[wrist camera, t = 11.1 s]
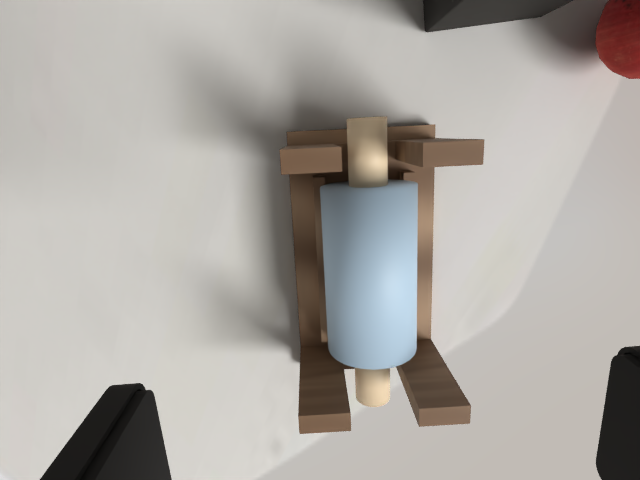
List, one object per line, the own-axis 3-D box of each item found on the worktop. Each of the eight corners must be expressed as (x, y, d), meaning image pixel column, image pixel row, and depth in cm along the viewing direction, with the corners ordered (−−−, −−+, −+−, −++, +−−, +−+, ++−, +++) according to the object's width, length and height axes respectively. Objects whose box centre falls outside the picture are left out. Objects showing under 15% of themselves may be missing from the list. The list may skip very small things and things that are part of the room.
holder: (287, 131, 28) (278, 130, 20) (430, 124, 29) (485, 120, 20) (302, 364, 33) (300, 446, 24) (426, 356, 33) (469, 436, 24)
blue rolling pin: (316, 122, 27) (316, 118, 22) (405, 117, 27) (430, 112, 22) (329, 374, 32) (332, 427, 26) (405, 370, 32) (426, 422, 26)
